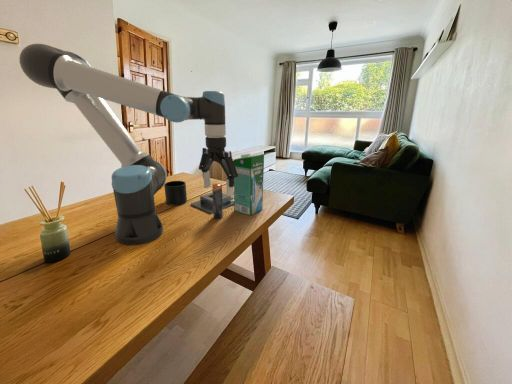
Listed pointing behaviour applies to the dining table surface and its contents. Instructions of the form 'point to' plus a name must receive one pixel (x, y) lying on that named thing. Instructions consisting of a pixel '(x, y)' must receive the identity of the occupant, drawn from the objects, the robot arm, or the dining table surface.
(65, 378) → the dining table surface
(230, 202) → the grey peg hole base
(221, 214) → the copper tipped cylinder
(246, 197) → the milk carton
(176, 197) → the mug
